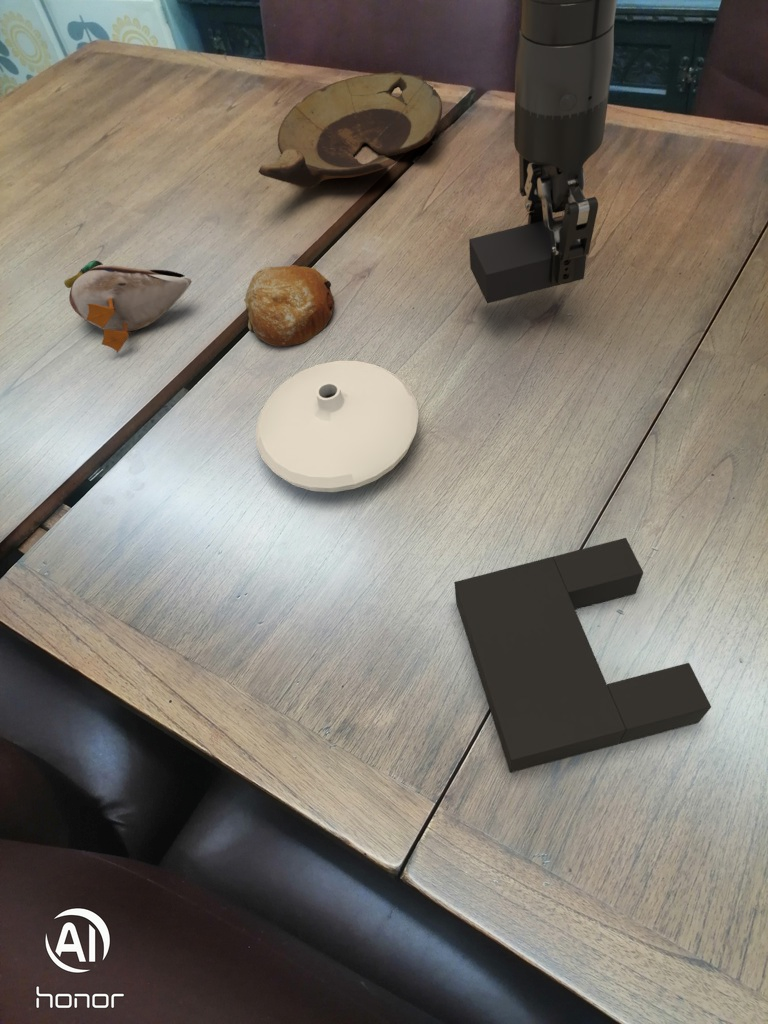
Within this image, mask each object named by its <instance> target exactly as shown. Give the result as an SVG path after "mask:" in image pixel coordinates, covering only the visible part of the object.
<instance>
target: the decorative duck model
mask: <svg viewBox="0 0 768 1024" xmlns="http://www.w3.org/2000/svg"><path fill="white" fill-rule="evenodd" d="M63 284H64V286H65V287H66V288H67V289H70V291H69V295H68V296H69V297H68V299H69V303H70V306H71V308H72V309H73V311H74V312H75V313H76V314H77V315H78V316H80V317H81V318H82V319H84V320H85V321H86V322H88V323H89V324H91V325H92V326H95V327H96V328H99V329H101V330H102V331H103V339H102V341H101V345H103V346H107V347H109V348H111V349H113V350H114V351H116V353H119V351H120V350H122V348H123V346H124V344H125V342H126V340H127V339H128V338H129V337H130V334H131V331H138V330H140V329H143V328H146V327H147V326H149V325H152V323H154V322H156V321H157V320H158V319H159V318H160V317H162V316H163V315H164V314H166V312H168V311H169V309H170V308H172V306H174V304H175V303H177V302H178V300H180V299H181V297H182V296H183V295H184V294H185V292H186V291H187V290H188V289H189V287H190V286H191V285H192V279H191V278H190V277H185V275H184V274H182V273H180V272H176V271H172V270H167V269H166V270H165V269H155V268H153V269H152V268H140V267H132V266H131V267H130V266H124V265H120V264H114V263H113V264H112V263H102V262H101V261H99V260H91V261H89V262H88V263H86V265H84V266H83V267H81V268H80V270H79V271H78V272H77V273H76V274H75V275H72V276H70V277H68V278H67V279H65V280H64V282H63Z"/></svg>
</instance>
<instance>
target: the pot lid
mask: <svg viewBox="0 0 768 1024" xmlns="http://www.w3.org/2000/svg"><path fill="white" fill-rule="evenodd" d="M419 416H420V413H419V408H418V403H417V399H416V397H415V395H414V394H413V392H412V390H411V388H410V387H409V386H408V384H407V383H406V382H405V381H404V380H402V379H401V378H400V377H399V376H398V375H396V374H395V373H393V372H391V371H389V370H387V369H386V368H384V367H381V366H379V365H377V364H373V363H370V362H369V363H368V362H365V361H364V362H363V361H360V360H335V361H330V362H329V361H328V362H324V363H319V364H316V365H313V366H310V367H309V368H304V369H302V370H301V371H299V372H297V373H296V374H294V375H292V376H291V377H289V378H288V379H286V380H285V381H284V382H283V383H281V385H279V386H278V387H277V388H276V389H275V390H274V391H273V392H272V394H270V396H269V397H268V399H267V401H266V402H265V404H264V405H263V407H262V408H261V410H260V412H259V415H258V418H257V422H256V424H255V444H256V448H257V450H258V452H259V455H260V457H261V459H262V460H263V462H264V463H265V464H266V465H267V467H268V468H269V469H270V470H271V471H272V472H273V473H274V474H276V476H278V477H279V478H281V479H283V480H284V481H286V482H287V483H289V484H291V485H293V486H294V487H298V488H301V489H304V490H308V491H310V492H311V491H312V492H322V493H323V492H324V493H337V492H338V493H339V492H343V491H349V490H356V489H358V488H360V487H363V486H366V485H368V484H370V483H373V482H376V481H377V480H378V479H380V478H382V477H383V476H384V475H387V473H389V472H390V471H392V470H393V469H394V468H395V467H396V466H397V465H398V464H399V463H400V462H401V460H402V459H403V458H404V457H405V456H406V455H407V454H408V451H409V449H410V447H411V445H412V443H413V441H414V438H415V436H416V433H417V430H418V424H419V423H418V422H419Z"/></svg>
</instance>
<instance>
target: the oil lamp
mask: <svg viewBox="0 0 768 1024" xmlns="http://www.w3.org/2000/svg"><path fill="white" fill-rule="evenodd" d="M397 88H399V91H401V93H400V95H399V96H394V95H393V92H394V91H395V90H396V89H397ZM442 102H443V101H442V98H441V96H440V94H439V93H438V92H437V90H436V89H434V87H433V86H432V85H431V84H430V83H428V82H427V81H426V80H424V76H422V75H421V74H418V75H412V74H405V73H403V72H401V70H396V71H390V72H384V73H381V72H379V73H370V74H365V75H358V76H353V77H349V78H346V79H342V80H338V81H335V82H333V83H329V84H328V85H325V86H324V87H322V88H318V89H316V90H314V91H312V92H311V93H309V94H307V95H306V96H305V97H304V98H303V99H302V101H299V102H298V103H296V104H295V105H294V106H293V107H292V108H291V109H290V110H289V112H288V113H287V115H286V116H285V117H284V119H283V120H282V122H281V123H280V126H279V128H278V133H277V147H278V150H279V153H280V157H279V158H278V159H277V160H276V161H275V162H272V163H267V164H262V165H261V166H259V169H258V173H259V174H260V175H261V176H263V177H267V178H270V179H273V180H277V181H279V182H284V183H288V184H290V185H294V186H298V187H299V188H304V189H311V188H315V187H316V186H318V185H319V184H320V183H321V182H323V181H325V180H330V179H331V180H332V179H342V178H343V179H346V178H347V179H348V178H355V177H359V176H360V177H361V176H364V175H368V174H371V173H375V172H377V171H378V172H379V171H381V170H383V169H386V168H388V167H390V166H392V165H395V163H396V161H395V160H393V159H392V158H389V157H393V156H399V155H400V154H405V153H408V152H410V151H412V150H414V149H417V148H419V147H422V146H423V145H426V144H427V143H428V142H430V141H431V140H432V139H433V137H434V135H435V134H436V132H437V131H438V129H439V125H440V123H441V120H442V115H443V114H442V113H443V104H442ZM365 144H366V145H368V147H370V148H371V149H372V150H374V151H375V153H377V154H379V155H378V156H377V157H376V158H373V159H372V160H371V161H369V162H366V163H362V162H360V161H359V160H358V158H355V157H354V156H355V155H356V154H358V152H359V150H360V149H361V148H362V146H364V145H365Z"/></svg>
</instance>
